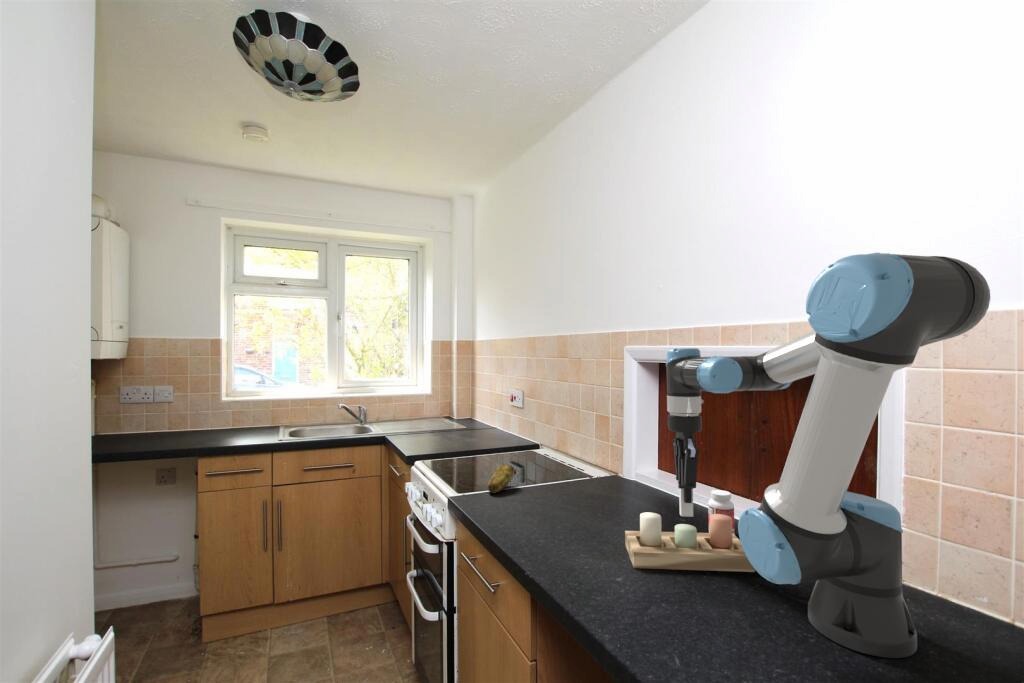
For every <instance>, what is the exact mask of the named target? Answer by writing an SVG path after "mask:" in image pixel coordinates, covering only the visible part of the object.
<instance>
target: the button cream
mask: <svg viewBox="0 0 1024 683" xmlns="http://www.w3.org/2000/svg"><path fill="white" fill-rule="evenodd" d="M639 531H640V541H641V543H643V544H645V545H649V546H658V545H660V544H661V543H662V540H661V532H662V516H661V515H660V514H659V513H657V512H650V511H649V512H642V513H641V512H640V514H639Z"/></svg>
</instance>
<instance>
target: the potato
mask: <svg viewBox="0 0 1024 683" xmlns="http://www.w3.org/2000/svg"><path fill="white" fill-rule="evenodd" d="M514 476H515V469H514V467H513V466H512V465H509V464H501V465H499V466H498V467H497V468H496V470H495V471H494V473H493V474H492V476H491V478H490V479H489V481H488V482H487V490H488V492H489V493H491V492H492V493H491V494H493V493H494V494H497V493H499V492H500V491H502V490H503V489H504V488H506V486H508V485H509V484H510V482H511V481H513V479H514ZM496 492H497V493H496Z"/></svg>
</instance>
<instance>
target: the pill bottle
mask: <svg viewBox="0 0 1024 683" xmlns="http://www.w3.org/2000/svg"><path fill="white" fill-rule="evenodd" d="M731 494H732V493H731V492H729V491H727V490H721V489H713V490H711V491H710V497H711V498H710V499H709V500H708V502H707V504H708V507H707V508H708V512H707V513H708V533H710V515H712V514H723V515H727V516H729V517H731V518H732V534H734V535H736V534H735V532H736V531H735V506H734V503H733V502H732V501H731V499H732V495H731Z"/></svg>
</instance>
